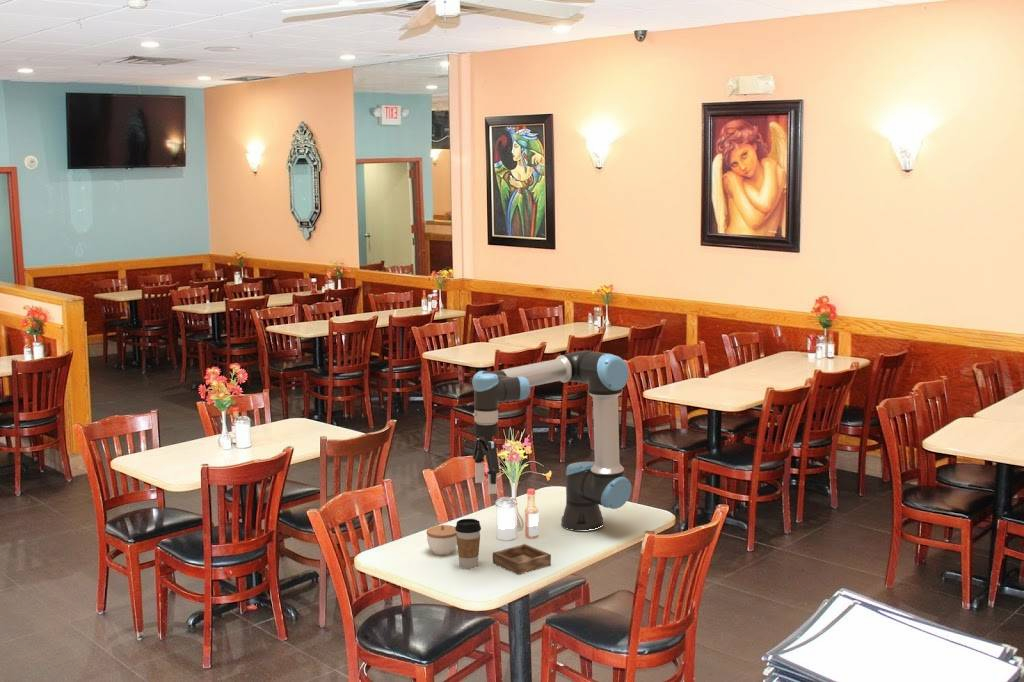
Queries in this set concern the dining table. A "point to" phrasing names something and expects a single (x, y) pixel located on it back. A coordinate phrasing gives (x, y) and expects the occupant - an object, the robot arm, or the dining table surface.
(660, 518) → the dining table surface
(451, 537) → the lidded jar
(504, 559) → the square brown tray
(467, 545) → the coffee cup
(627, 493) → the robot arm
